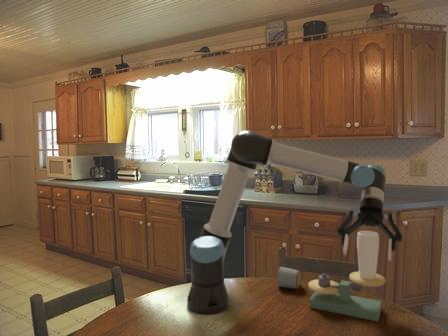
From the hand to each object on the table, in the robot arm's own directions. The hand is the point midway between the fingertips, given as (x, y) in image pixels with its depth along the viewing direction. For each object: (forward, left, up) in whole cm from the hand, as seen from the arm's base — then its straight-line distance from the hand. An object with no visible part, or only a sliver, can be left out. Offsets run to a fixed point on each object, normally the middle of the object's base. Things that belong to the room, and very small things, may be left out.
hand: (366, 255), depth 115 cm
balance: (-7, +2, -20) cm, 21 cm away
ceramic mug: (-30, +13, -20) cm, 39 cm away
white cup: (0, +2, -8) cm, 8 cm away
